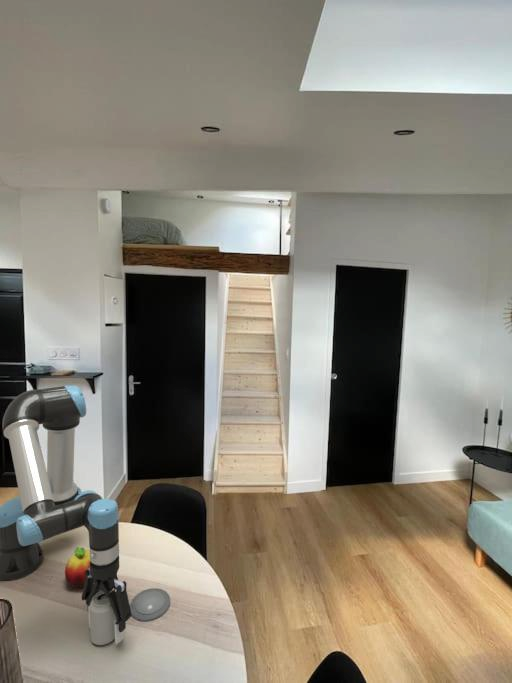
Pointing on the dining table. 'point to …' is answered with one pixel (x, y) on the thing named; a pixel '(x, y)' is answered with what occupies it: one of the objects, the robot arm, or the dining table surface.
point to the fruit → (77, 567)
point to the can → (101, 619)
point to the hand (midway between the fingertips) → (106, 632)
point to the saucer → (149, 604)
